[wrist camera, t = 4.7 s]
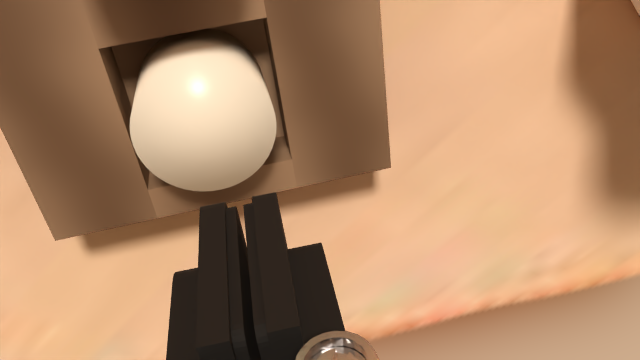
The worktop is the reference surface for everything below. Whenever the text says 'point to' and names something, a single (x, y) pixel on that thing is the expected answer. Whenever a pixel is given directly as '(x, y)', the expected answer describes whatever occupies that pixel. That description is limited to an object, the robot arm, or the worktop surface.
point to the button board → (120, 85)
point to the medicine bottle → (636, 5)
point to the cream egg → (202, 111)
